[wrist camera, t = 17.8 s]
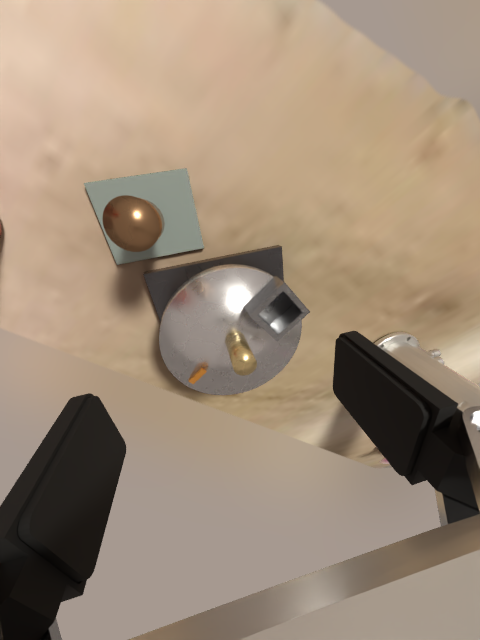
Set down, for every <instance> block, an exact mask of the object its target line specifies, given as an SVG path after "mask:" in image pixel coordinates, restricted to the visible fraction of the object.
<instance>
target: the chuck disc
mask: <svg viewBox="0 0 480 640" xmlns="http://www.w3.org/2000/svg"><path fill="white" fill-rule="evenodd" d="M308 313H310V311H309V310H308V309H307V308H306V307H305V305H304V304H303V303H302V302H301V301H300V300H299V298H298V297H297V296H296V295H295V294H294V293H293V291H292V290H291V289H290V288H289V287H288V286H287V285H286V283H285V282H283V281H282V280H281V279H279V278H278V277H277V276H274V277H273V276H272V275H270V274H269V273H267V272H265V271H263V270H261V269H258V268H256V267H253V266H248V265H241V264H228V265H220V266H216V267H212V268H209V269H206V270H204V271H202V272H200V273H198V274H196V275H194V276H193V277H191V278H190V279H188V280H187V281H186V282H184V283H183V284H182V285H181V286H180V287H179V288H178V289H177V290H176V292H175V293H174V294H173V295H172V297H171V298H170V300H169V302H168V303H167V305H166V308H165V310H164V313H163V317H162V321H161V326H160V333H159V346H160V351H161V355H162V358H163V360H164V363H165V364H166V366H167V368H168V369H169V371H170V372H171V373H172V374H173V376H174V377H176V378H177V379H178V380H179V381H180V382H182V383H183V384H184V385H186V386H188V387H190V388H192V389H194V390H197V391H199V392H203V393H207V394H213V395H231V394H238V393H242V392H246V391H249V390H252V389H254V388H257V387H259V386H261V385H263V384H264V383H266V382H268V381H269V380H271V379H272V378H273V377H275V376H276V375H277V374H278V373H279V372H280V371H281V370H282V369H283V368H284V367H285V366H286V365H287V364H288V362H289V361H290V359H291V358H292V356H293V354H294V353H295V351H296V348H297V346H298V343H299V340H300V336H301V328H302V321H301V320H302V319H303V318H304V317H305V316H306V315H307V314H308Z"/></svg>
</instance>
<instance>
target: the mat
mask: <svg viewBox="0 0 480 640" xmlns="http://www.w3.org/2000/svg"><path fill="white" fill-rule="evenodd" d="M84 185H85V188H86V190H87V193H88V195H89V197H90V200H91V202H92V205H93V207H94V210H95V212H96V215H97V217H98V219H99V222H100V224H101V227H102V229H103V232H104V234H105V237H106V239H107V242H108V244H109V246H110V249H111V251H112V254H113V256H114V259H115V261H116V264H117V265H119V264H124V263H129V262H134V261H140V260H145V259H150V258H155V257H160V256H165V255H171V254H176V253H181V252H186V251H191V250H196V249H202V248H204V246H203V241H202V236H201V232H200V227H199V223H198V218H197V213H196V209H195V204H194V200H193V195H192V190H191V186H190V181H189V177H188V172H187V168H185V169H178V170H171V171H164V172H157V173H150V174H143V175H136V176H130V177H123V178H116V179H109V180H102V181H95V182H88V183H84ZM123 195H129V196H134V197H138V198H141V199H145V200H148V201H150V202H152V203H153V204H155V205H156V206H157V207H158V208H159V209H160V211H161V213H162V215H163V217H164V222H165V227H164V231H163V233H162V235H161V236H160V238H159V239H158V240H157V241H156V243H155V244H154V245H153V246H152V247H151V248H149V249H147V250H145V251H142V252H131V251H127V250H124V249H122V248H120V247H119V246H117V245H116V244H115V243H114V242H112V240H111V239H110V238H109V237H108V235H107V233H106V232H105V229H104V226H103V220H102V219H103V211H104V209H105V207H106V205H107V204H108V202H110V201H111V200H112V199H114V198H116V197H118V196H123Z"/></svg>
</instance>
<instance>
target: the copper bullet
mask: <svg viewBox="0 0 480 640" xmlns="http://www.w3.org/2000/svg"><path fill="white" fill-rule="evenodd" d="M102 220H103V226H104V229H105V232H106V233H107V235H108V237H109V238H110V239H111V240H112V242H114V243H115V244H116V245H117V246H119V247H120V248H122V249H124V250H127V251H131V252H142V251H145V250H147V249H149V248H151V247H152V246H153V245H154V244H155V243H156V241H157V240H158V239H159V238H160V236H161V235H162V233H163V231H164V227H165V222H164V217H163V215H162V213H161V211H160V209H159V208H158V207H157V206H156V205H155V204H153V203H152V202H150V201H148V200H145V199H141V198H138V197H134V196H129V195H123V196H118V197H116V198H114V199H112V200H111V201H110V202H108V204H107V205H106V207H105V209H104V211H103V219H102Z"/></svg>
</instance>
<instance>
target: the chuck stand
mask: <svg viewBox="0 0 480 640" xmlns="http://www.w3.org/2000/svg"><path fill="white" fill-rule="evenodd" d="M228 264H241V265H248V266H253V267H256V268H258V269H261V270H263V271H265V272H267V273H269V274H270V275H272V276H273V277H274V276H277V277H278V278H279V279H281V280H282V281H283V282H284V278H283V260H282V246H279V245H277V246H272V247H267V248H262V249H257V250H252V251H247V252H242V253H237V254H232V255H227V256H222V257H217V258H212V259H207V260H202V261H197V262H192V263H187V264H182V265H177V266H172V267H167V268H162V269H157V270H152V271H147V272H145V273H144V274H143V275H144V278H145V280H146V283H147V286H148V289H149V291H150V294H151V297H152V300H153V303H154V305H155V308H156V311H157V314H158V316H159V319H160V322H161V321H162V317H163V313H164V310H165V308H166V305H167V303H168V302H169V300H170V298H171V297H172V295H173V294H174V293H175V292H176V290H177V289H178V288H179V287H180V286H181V285H182V284H183V283H184V282H186V281H187V280H188V279H190V278H191V277H193V276H194V275H196V274H198V273H200V272H202V271H204V270H206V269H209V268H212V267H216V266H220V265H228Z"/></svg>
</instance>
